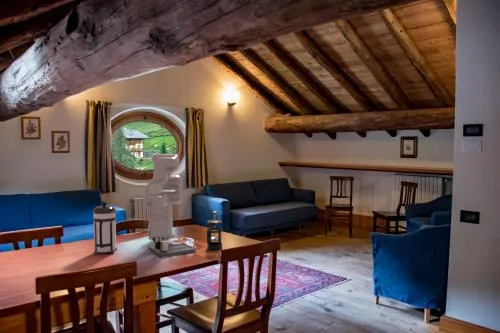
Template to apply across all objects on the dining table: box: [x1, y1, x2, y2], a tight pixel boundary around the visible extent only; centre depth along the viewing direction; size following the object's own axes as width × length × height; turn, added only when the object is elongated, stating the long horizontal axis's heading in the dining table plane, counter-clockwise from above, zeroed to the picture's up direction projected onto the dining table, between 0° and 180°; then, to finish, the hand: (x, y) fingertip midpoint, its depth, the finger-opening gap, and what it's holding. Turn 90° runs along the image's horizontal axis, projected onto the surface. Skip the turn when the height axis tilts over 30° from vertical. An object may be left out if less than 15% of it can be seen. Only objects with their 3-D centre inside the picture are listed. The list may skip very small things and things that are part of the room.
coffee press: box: [92, 201, 118, 256], centre depth 249 cm, size 17×16×30 cm
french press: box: [206, 210, 223, 252], centre depth 259 cm, size 12×9×23 cm
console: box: [147, 241, 197, 259], centre depth 254 cm, size 20×22×3 cm
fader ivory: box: [161, 239, 169, 251], centre depth 247 cm, size 4×3×5 cm
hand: (157, 248), depth 245 cm, fingers closed
